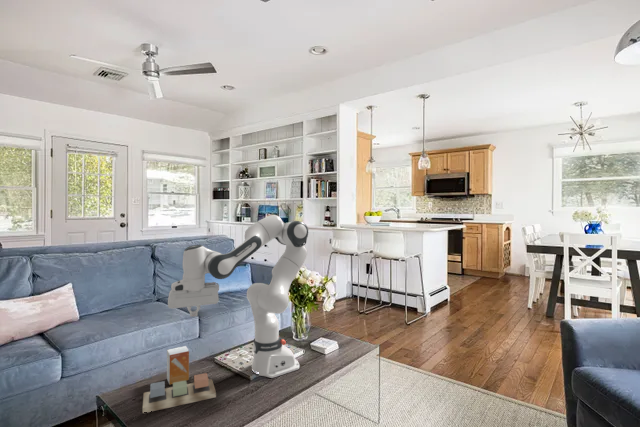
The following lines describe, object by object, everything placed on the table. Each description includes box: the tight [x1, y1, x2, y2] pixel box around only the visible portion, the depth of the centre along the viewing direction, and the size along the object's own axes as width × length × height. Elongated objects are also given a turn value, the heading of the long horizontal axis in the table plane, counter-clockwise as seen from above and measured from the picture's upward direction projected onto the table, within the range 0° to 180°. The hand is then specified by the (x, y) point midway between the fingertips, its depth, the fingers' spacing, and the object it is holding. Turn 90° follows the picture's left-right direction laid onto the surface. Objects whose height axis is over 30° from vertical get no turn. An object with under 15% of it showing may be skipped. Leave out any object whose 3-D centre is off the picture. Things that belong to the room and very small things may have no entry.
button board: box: [142, 378, 217, 414], centre depth 137 cm, size 26×11×2 cm, turn 115°
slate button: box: [149, 380, 166, 398], centre depth 134 cm, size 5×5×3 cm
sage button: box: [172, 380, 188, 397], centre depth 137 cm, size 5×5×3 cm
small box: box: [166, 345, 190, 385], centre depth 150 cm, size 8×6×13 cm
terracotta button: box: [193, 372, 209, 389], centre depth 140 cm, size 5×5×3 cm
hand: (193, 316), depth 147 cm, fingers closed
